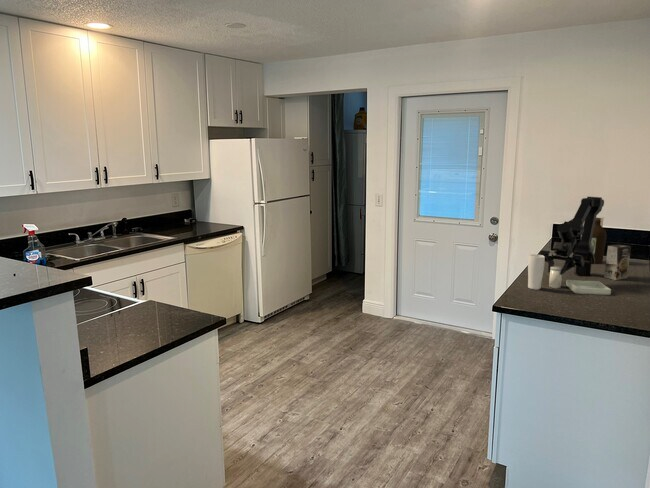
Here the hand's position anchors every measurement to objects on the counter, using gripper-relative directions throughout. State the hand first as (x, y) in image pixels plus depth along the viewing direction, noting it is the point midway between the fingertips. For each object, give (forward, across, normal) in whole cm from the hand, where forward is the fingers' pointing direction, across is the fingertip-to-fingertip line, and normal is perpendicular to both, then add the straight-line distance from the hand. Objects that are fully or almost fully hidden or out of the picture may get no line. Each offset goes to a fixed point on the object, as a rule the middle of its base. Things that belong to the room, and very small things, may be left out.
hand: (554, 273), depth 225 cm
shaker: (+4, 0, +6) cm, 7 cm away
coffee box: (-23, +14, +33) cm, 43 cm away
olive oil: (-44, -6, +54) cm, 70 cm away
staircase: (-68, -19, +78) cm, 106 cm away
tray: (0, +12, +9) cm, 15 cm away
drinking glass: (+11, -5, -1) cm, 12 cm away
